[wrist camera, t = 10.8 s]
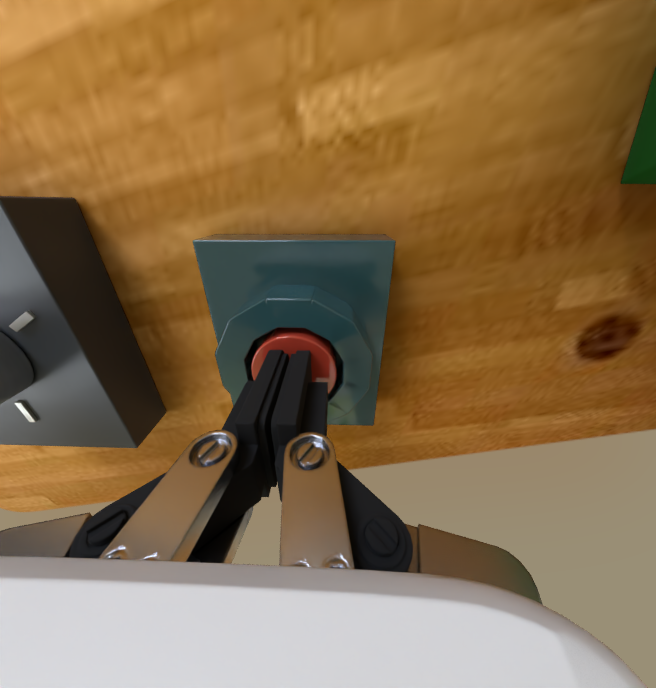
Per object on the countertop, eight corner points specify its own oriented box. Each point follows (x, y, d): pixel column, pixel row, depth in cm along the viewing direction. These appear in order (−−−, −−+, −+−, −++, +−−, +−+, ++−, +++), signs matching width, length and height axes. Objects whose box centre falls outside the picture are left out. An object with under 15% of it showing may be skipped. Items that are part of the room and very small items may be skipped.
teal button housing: (215, 234, 12) (163, 247, 8) (386, 234, 12) (407, 247, 8) (248, 397, 17) (225, 448, 13) (369, 400, 16) (378, 452, 13)
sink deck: (-135, 198, 12) (-281, 197, 9) (75, 197, 11) (-9, 196, 9) (29, 409, 18) (-27, 446, 15) (167, 412, 18) (135, 450, 15)
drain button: (256, 317, 11) (244, 335, 10) (337, 318, 11) (337, 336, 10) (266, 382, 13) (257, 406, 11) (336, 383, 13) (336, 407, 11)
